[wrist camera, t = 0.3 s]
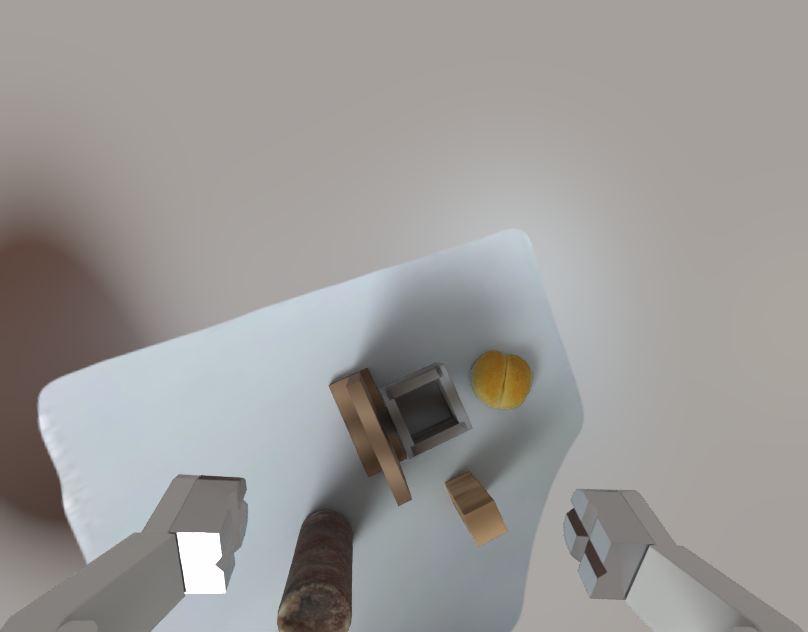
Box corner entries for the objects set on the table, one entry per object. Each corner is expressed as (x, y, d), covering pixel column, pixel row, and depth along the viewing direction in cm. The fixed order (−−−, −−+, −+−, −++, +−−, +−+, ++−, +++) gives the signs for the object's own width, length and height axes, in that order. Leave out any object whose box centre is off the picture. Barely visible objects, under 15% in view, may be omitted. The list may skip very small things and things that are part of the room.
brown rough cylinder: (349, 501, 62) (344, 576, 42) (358, 553, 61) (358, 653, 41) (295, 513, 61) (264, 595, 41) (304, 566, 61) (277, 674, 41)
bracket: (459, 430, 64) (493, 459, 48) (368, 474, 62) (371, 519, 46) (421, 343, 64) (441, 343, 48) (329, 385, 62) (318, 399, 46)
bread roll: (475, 346, 65) (482, 346, 61) (531, 360, 66) (542, 360, 62) (463, 400, 65) (469, 403, 61) (519, 413, 65) (530, 417, 61)
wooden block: (480, 496, 64) (507, 531, 52) (455, 508, 63) (478, 546, 51) (469, 471, 64) (494, 500, 52) (444, 483, 63) (464, 515, 51)
